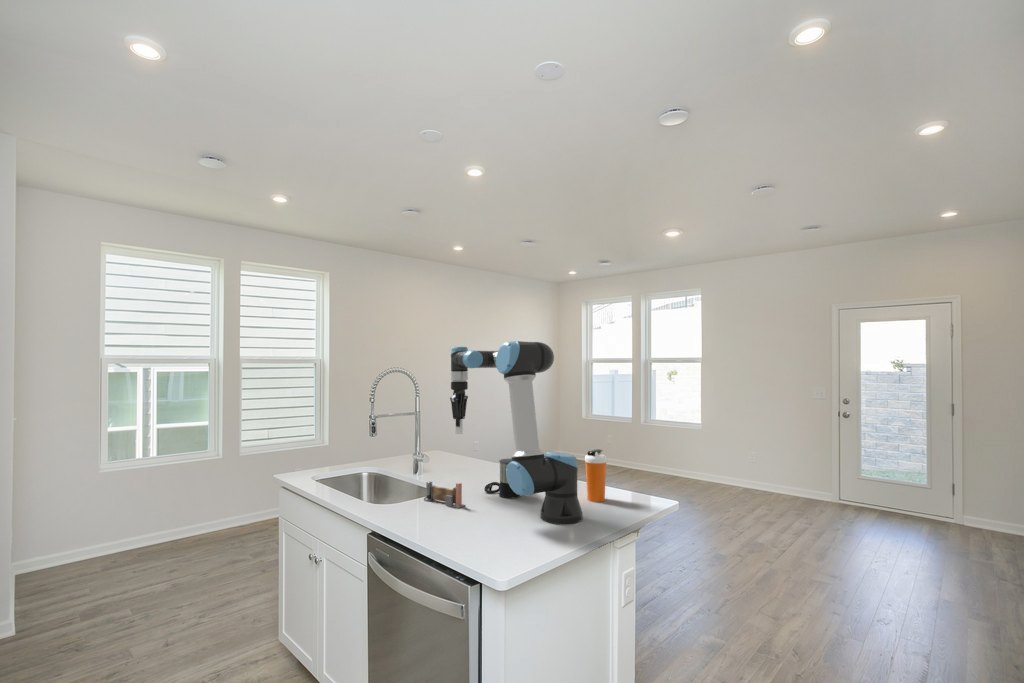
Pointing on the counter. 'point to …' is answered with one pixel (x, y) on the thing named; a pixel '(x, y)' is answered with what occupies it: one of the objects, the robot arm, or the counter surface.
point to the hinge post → (428, 492)
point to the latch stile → (458, 497)
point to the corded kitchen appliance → (502, 482)
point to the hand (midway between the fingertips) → (459, 433)
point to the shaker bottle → (595, 475)
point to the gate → (442, 493)
